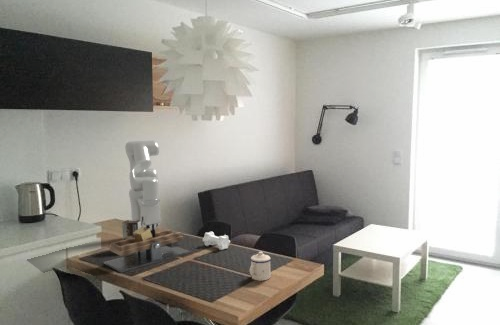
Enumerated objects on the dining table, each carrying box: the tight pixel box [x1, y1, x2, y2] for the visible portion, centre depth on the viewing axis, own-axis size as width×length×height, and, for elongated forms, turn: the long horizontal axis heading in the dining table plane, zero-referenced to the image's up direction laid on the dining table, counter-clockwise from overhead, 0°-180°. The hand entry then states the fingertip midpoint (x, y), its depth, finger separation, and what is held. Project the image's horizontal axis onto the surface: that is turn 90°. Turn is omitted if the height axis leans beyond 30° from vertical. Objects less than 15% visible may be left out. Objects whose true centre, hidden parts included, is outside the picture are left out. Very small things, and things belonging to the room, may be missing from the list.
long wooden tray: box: [109, 228, 184, 257], centre depth 210 cm, size 36×12×7 cm, turn 134°
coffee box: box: [121, 219, 142, 241], centre depth 226 cm, size 9×6×16 cm
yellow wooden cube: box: [133, 227, 153, 243], centre depth 207 cm, size 6×6×6 cm
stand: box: [103, 241, 191, 274], centre depth 210 cm, size 19×40×10 cm, turn 134°
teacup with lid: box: [249, 251, 272, 282], centre depth 181 cm, size 12×9×12 cm
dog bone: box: [202, 231, 231, 251], centre depth 228 cm, size 15×9×8 cm, turn 48°
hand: (152, 237), depth 211 cm, fingers closed
